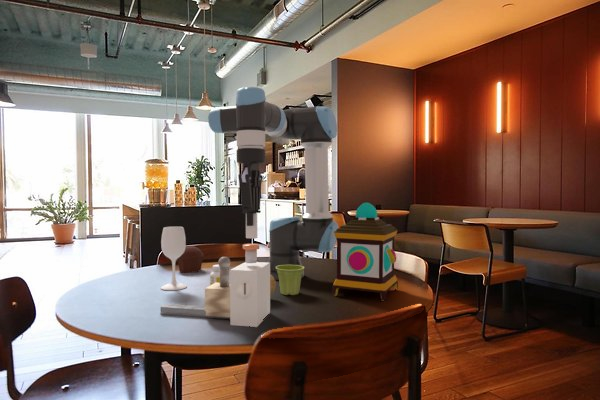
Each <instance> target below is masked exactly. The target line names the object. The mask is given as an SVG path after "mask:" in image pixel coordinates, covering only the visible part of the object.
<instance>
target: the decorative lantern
mask: <svg viewBox="0 0 600 400" xmlns="http://www.w3.org/2000/svg"><path fill="white" fill-rule="evenodd" d="M397 233H398V229H397V228H396V227H395V226H393V225H392V224H391V223H387V222H386V221H383V219H381V217H380V216H378V212H377V209H376V207H375V206H374V205H373V204H371V203H370V202H363V203H361V204H360V205H359V206H358V208H357V209H356V211H355V216H354V217H352V219H350V220H349V222H347V223H346V224H343V225H340V226H338V229H336V231H334V235H335V237H336V239H337V241H336V278H335V280H334V282H333V285H332V295H333V296H334V297H336V296H338V293H339V289H345V290H354V291H362V292H368V293H369V292H372V293H378V294H379V295H380V299H381V301H382V300H385V301H386V299H387V293H388V292H389V291H390V289H393V288H397V289H398V288H399V280H398V278H397V276H396V274H395V263H396V261H397V254H396V252H395V239H396V235H397Z"/></svg>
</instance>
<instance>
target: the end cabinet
mask: <svg viewBox="0 0 600 400" xmlns="http://www.w3.org/2000/svg"><path fill="white" fill-rule="evenodd" d="M229 283H230V319H229V320H230V322H229V324H230V326H238V327H249V326H250V328H251V327H254V328H258V327H259V326H260V325H261V323H263V321H264V320H265V319H266V318H267V317H268V316H269V315H270V314H271V296H270V263H268V261H266V262H265V261H262V262H261V261H257V263H245V262H243V263H241V264H239V265H237V266H234V267H233V268H231V269H229ZM268 314H269V315H268ZM267 315H268V316H267ZM266 316H267V317H266ZM265 317H266V318H265ZM264 318H265V319H264ZM263 319H264V320H263Z"/></svg>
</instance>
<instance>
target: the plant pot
mask: <svg viewBox="0 0 600 400" xmlns="http://www.w3.org/2000/svg"><path fill="white" fill-rule="evenodd" d="M276 269H277V273H278V276H279V280H278V282H279V289H280V290H279V291H280V295H284V296H288V295H290V296H296V295H299V293H300V289H301V284H302V283H301V282H302V278H301V276H302V273H303V270H305V266H304V265H302V266H300V265H279V266H276Z"/></svg>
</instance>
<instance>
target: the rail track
mask: <svg viewBox="0 0 600 400" xmlns="http://www.w3.org/2000/svg"><path fill="white" fill-rule="evenodd" d="M159 309H160V315H168V316H180V317H193V318H195V317H196V318H209V319H223V320H230V317H217V316H206V311H205V305H202V306H201V305H190V304H189V305H188V304H187V305H186V304H176V303H175V304H172V303H166V304H163V305H161V306H160V308H159Z"/></svg>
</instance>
